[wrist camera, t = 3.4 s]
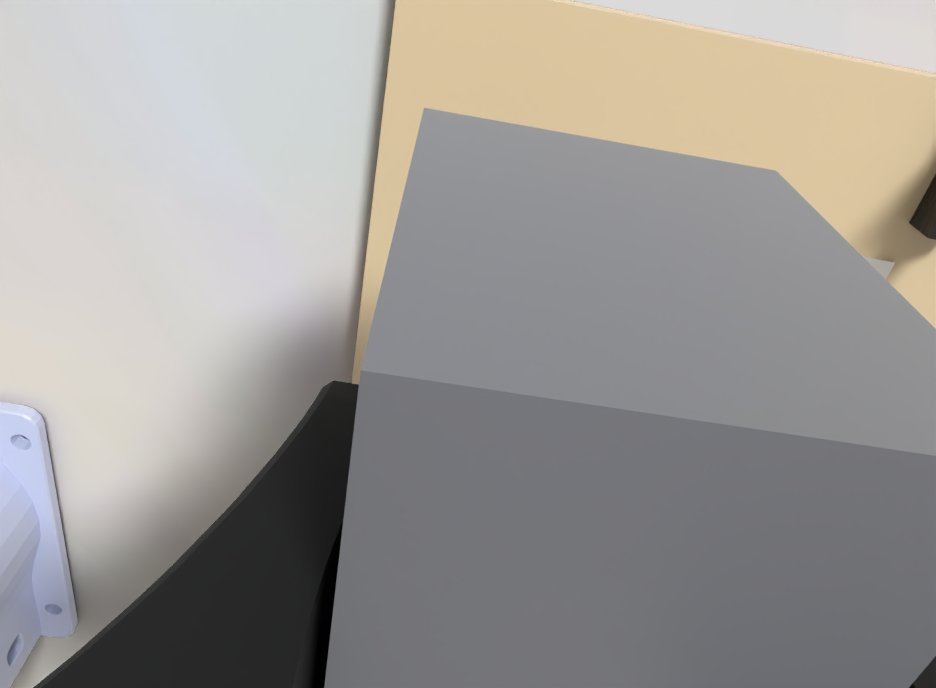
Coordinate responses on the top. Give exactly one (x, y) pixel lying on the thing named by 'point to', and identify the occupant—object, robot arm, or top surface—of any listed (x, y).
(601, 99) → the tan square board
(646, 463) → the plug housing
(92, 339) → the top surface
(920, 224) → the header plain
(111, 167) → the top surface
